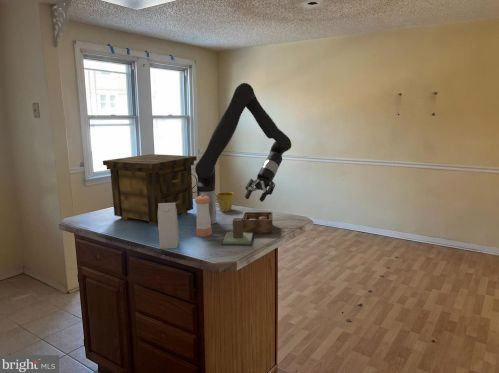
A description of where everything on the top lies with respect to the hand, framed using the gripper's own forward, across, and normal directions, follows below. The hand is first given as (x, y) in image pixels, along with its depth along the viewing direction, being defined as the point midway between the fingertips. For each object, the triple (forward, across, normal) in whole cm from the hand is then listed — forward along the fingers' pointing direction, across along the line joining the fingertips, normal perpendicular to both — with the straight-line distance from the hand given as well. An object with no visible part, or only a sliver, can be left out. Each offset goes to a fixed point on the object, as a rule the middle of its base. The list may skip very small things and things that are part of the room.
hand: (253, 199), depth 170 cm
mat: (+20, 0, +4) cm, 20 cm away
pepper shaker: (+22, -18, +1) cm, 29 cm away
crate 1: (+18, -64, +6) cm, 67 cm away
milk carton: (+36, -19, -13) cm, 43 cm away
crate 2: (+7, -3, +16) cm, 18 cm away
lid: (+19, 0, +3) cm, 20 cm away
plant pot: (-6, -41, +29) cm, 51 cm away
